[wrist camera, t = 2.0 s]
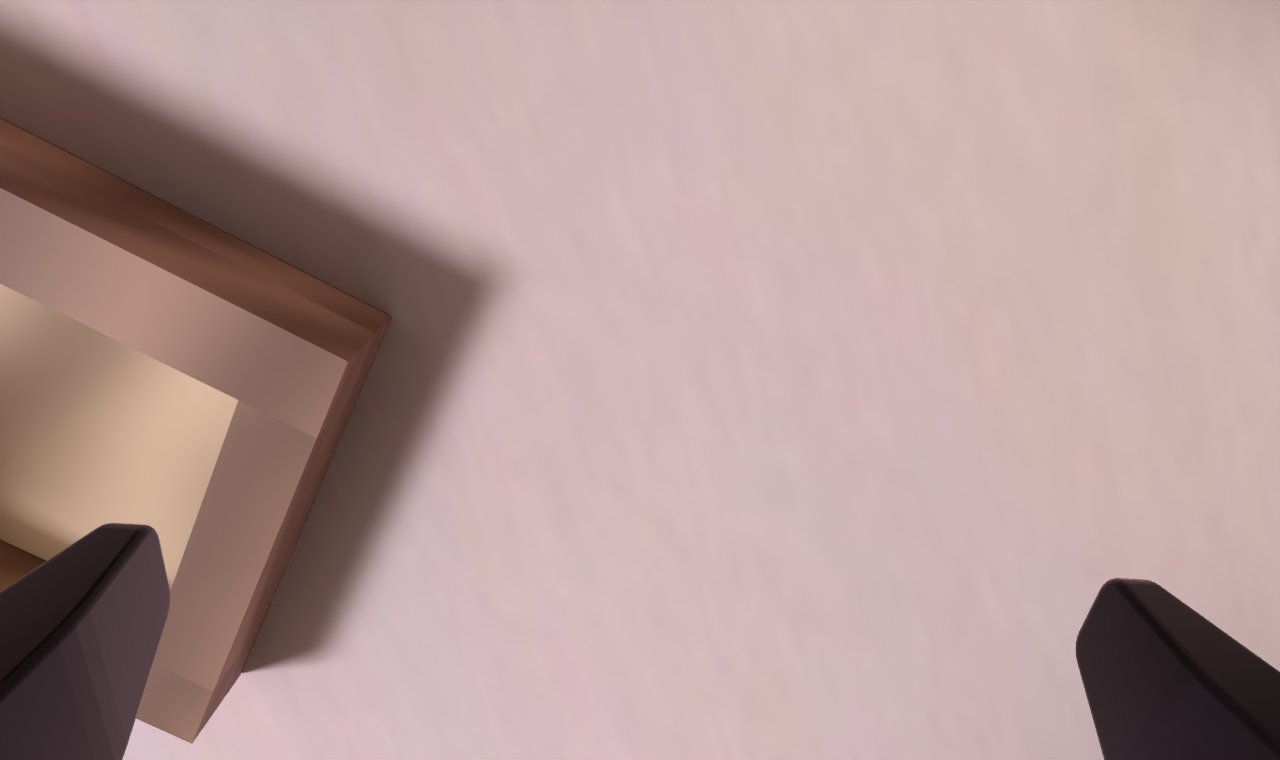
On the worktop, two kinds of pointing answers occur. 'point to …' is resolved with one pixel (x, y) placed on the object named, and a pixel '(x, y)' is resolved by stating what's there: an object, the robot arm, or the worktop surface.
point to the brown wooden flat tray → (164, 403)
